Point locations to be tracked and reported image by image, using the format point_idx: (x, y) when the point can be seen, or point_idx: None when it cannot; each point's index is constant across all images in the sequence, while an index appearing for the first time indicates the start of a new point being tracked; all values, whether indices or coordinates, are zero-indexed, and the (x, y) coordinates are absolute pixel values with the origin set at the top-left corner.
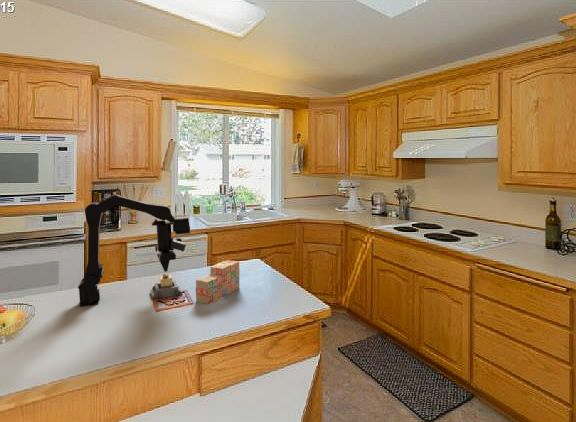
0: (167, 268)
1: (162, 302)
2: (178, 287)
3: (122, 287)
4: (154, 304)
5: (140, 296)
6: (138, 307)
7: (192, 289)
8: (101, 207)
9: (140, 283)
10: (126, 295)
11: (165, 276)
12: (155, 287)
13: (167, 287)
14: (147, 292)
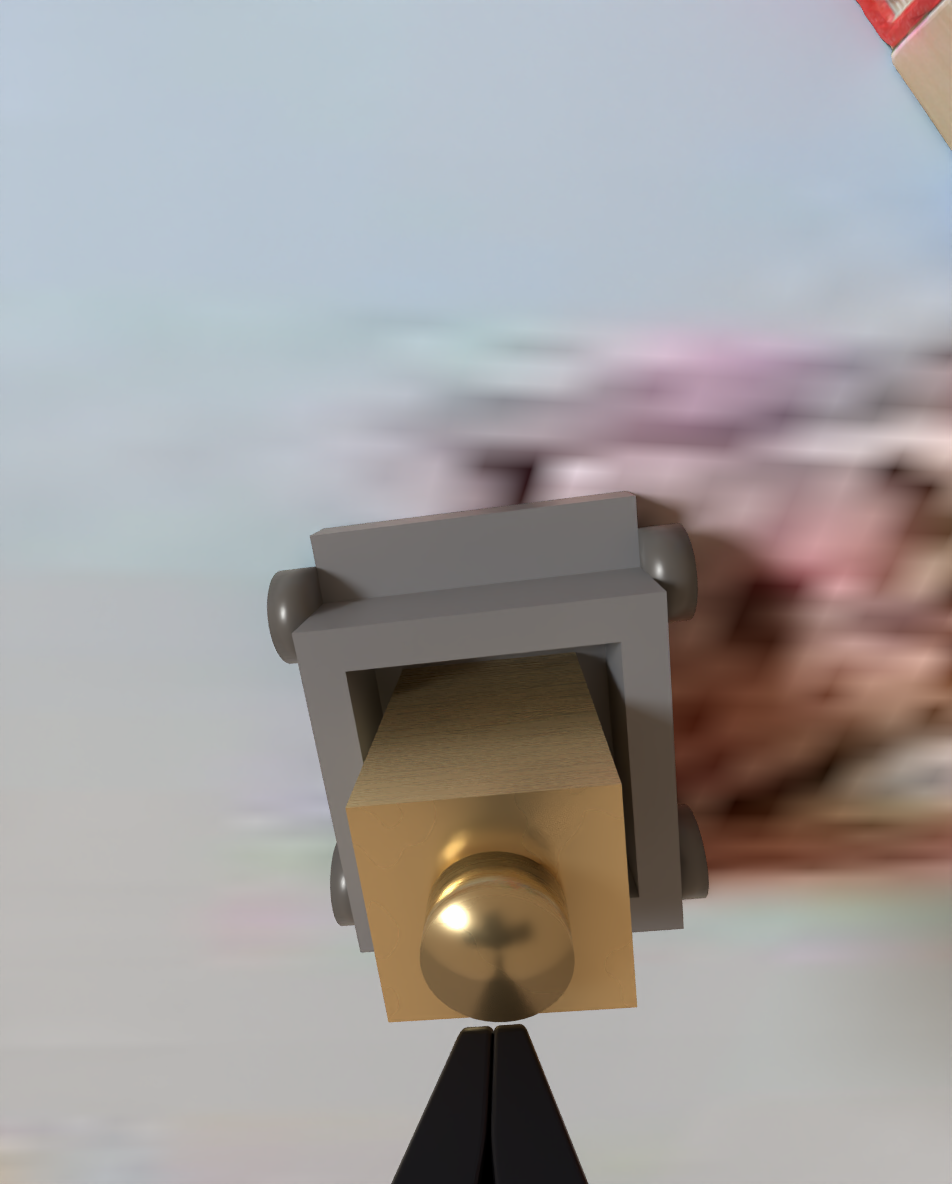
0: (565, 1135)
1: (834, 771)
2: (403, 553)
3: (148, 1162)
4: (859, 859)
5: None
6: (869, 1012)
7: (438, 308)
8: None
9: (29, 1006)
10: None
11: (568, 947)
12: None
13: (630, 771)
14: None
